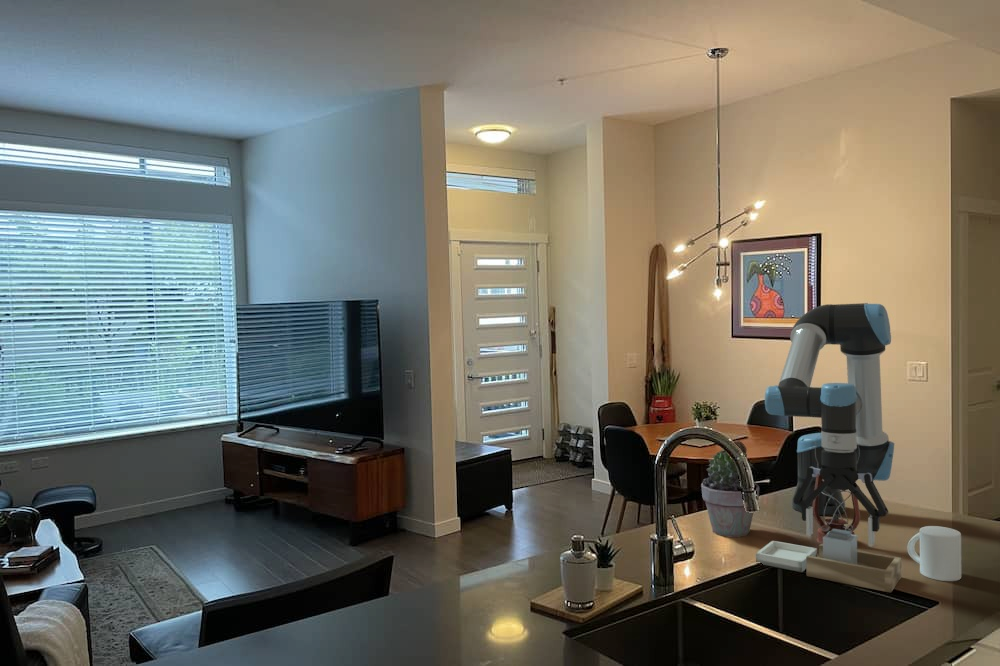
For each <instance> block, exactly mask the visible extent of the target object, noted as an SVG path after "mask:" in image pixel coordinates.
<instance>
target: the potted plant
mask: <svg viewBox="0 0 1000 666" xmlns="http://www.w3.org/2000/svg"><path fill="white" fill-rule="evenodd" d="M733 442H734V443H735V444H736V445H737V446H738V447H739V448H740V449H741V451H742V452H743V454H744V455H745V457H746V458H748V457H747V456H748V454H747V447H746V446H745V444H744V443H743V442H742V441H740V440H734V441H732V443H733ZM709 456H712V458H711V459H708V462H709V464H708V465H705V467H706V466H708V468H706V472H707V474H708V477H707V478H704V479H703V480H702V482H701V484H700V486H699V487H698V488H697V489H699V488H700V487H701V494H702V495H701V496H702V499H703V501H704V502H705V505H706V509H707V514H708V518H709V522H710V525H711V529H712V533H714V534H716V535H718V536H722V537H727V538H739V537H738V536H741V537H745V536H748V535H749V533H750V529H751V524H752V520H753V516H754V512H753V513H749V512H746V511H745V508H744V504H743V499H742V494H741V488H740V482H739V479H738V475H737V471H736V468H735V466H734V463H733V461H732V459H731V458H730V456H729V455H728V453H727V452H726V451H725V450H724V448H723V449H722V450H720V451H717V452H716V454H709ZM748 463H749V465H750V467H751V468H753V469H754V470H756V468H755V467H754V466H753V465H754V463H751V462H750V461H748ZM754 483H755V485H756V491H757V495H758V499H759V497H760V486H759V485H758V484H759V483H756V482H754ZM747 534H748V535H747ZM744 535H745V536H744Z"/></svg>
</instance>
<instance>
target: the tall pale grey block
mask: <svg viewBox="0 0 1000 666" xmlns="http://www.w3.org/2000/svg"><path fill="white" fill-rule="evenodd" d="M857 550H858V535H857V534H855V535H852V534H851V531H846V530H839V529H832V530H831V531H829V532H828V533H827V534H826V535H825V536H824V537H823V558H825V559H830V560H836V561H841V562H846V563H852V564H857Z"/></svg>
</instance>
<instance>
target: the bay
mask: <svg viewBox="0 0 1000 666" xmlns="http://www.w3.org/2000/svg"><path fill="white" fill-rule="evenodd" d="M805 570H806V573H805V574H806V576H807V577H811V578H814V579H815V578H816V579H821V580H826V581H831V582H836V583H840V584H846V585H851V586H857V587H860V588H866V589H871V590H876V591H879V592H880V591H881V592H886V593H892V592H893V590H894V588H895V587H896V586H897V584H898V583H899V581H900V580H901V578H902V557H898V556H892V555H887V554H881V553H874V552H870V551H864V550H859V549H857V564H852V563H846V562H841V561H836V560H830V559H825V558H823V544H822V543H820V544H819V545H818V556H817V557H814V556H807V557H806V569H805Z"/></svg>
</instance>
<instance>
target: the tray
mask: <svg viewBox="0 0 1000 666" xmlns="http://www.w3.org/2000/svg"><path fill="white" fill-rule="evenodd" d="M807 556H814V557H818V548H817V547H811V546H806V545H799V544H793V543H788V542H783V541H777V540H771V541H770V542H769V543H767V544H765V546H763V547H762V548H761V549H759V550H757V552H756V553H755V563H756V562H760V563H762V564H763V566H768V567H773V568H778V569H784V570H788V571H792V572H793V571H794V572H798V573H803V572H805V570H806V557H807ZM762 564H761V565H762Z"/></svg>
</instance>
